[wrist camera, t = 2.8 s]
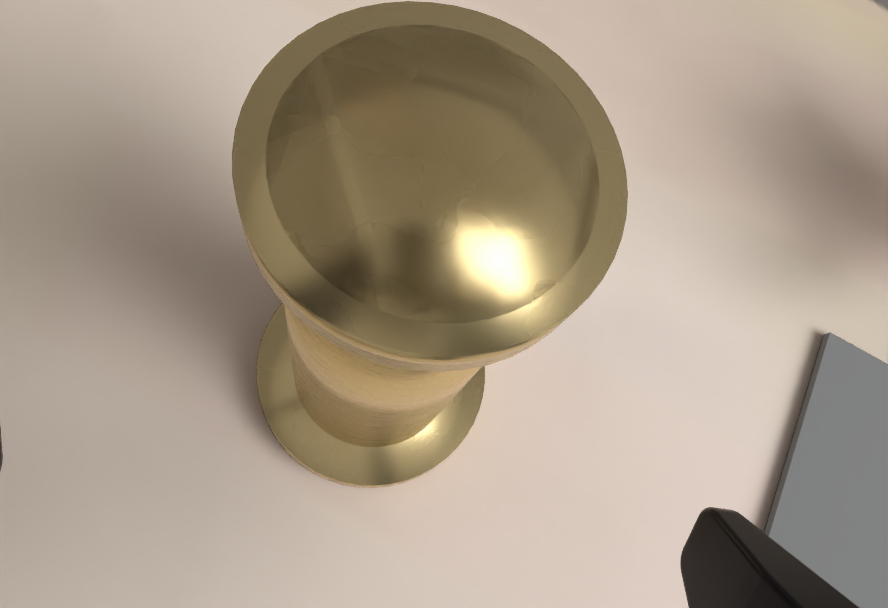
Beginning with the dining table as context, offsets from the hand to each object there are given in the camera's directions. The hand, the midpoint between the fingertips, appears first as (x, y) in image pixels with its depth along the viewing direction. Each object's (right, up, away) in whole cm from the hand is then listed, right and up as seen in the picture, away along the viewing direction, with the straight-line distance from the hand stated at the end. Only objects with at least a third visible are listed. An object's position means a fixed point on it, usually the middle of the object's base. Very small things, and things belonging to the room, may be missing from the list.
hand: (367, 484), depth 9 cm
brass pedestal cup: (-1, 0, +11) cm, 11 cm away
